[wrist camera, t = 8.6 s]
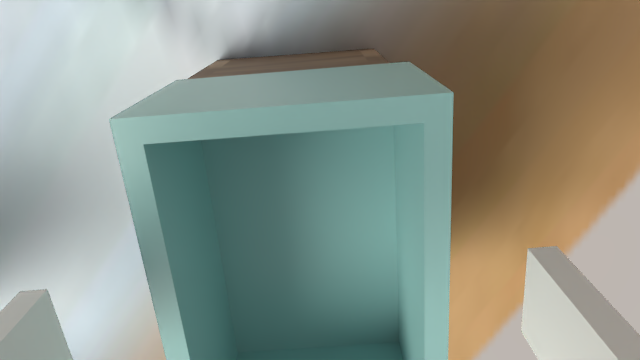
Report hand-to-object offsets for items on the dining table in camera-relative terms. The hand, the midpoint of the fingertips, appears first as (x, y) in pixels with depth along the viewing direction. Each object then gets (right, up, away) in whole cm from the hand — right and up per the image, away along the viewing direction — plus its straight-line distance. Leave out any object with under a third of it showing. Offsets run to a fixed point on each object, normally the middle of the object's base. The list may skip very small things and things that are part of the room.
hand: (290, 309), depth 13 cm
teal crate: (0, +2, +7) cm, 8 cm away
